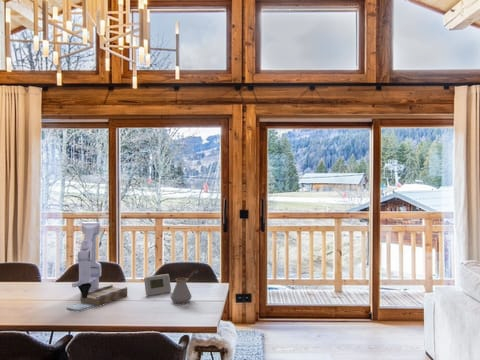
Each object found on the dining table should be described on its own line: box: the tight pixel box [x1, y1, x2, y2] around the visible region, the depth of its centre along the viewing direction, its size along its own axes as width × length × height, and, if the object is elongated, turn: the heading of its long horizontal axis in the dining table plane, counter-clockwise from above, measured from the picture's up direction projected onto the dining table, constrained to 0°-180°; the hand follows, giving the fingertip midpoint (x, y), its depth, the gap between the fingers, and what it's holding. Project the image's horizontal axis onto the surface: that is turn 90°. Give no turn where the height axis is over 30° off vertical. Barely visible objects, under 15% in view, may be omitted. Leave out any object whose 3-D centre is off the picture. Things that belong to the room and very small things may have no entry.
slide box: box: [80, 284, 128, 307], centre depth 222 cm, size 22×13×5 cm, turn 152°
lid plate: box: [66, 302, 95, 312], centre depth 207 cm, size 10×9×2 cm
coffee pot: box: [170, 269, 199, 305], centre depth 222 cm, size 21×12×15 cm, turn 153°
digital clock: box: [144, 273, 172, 297], centre depth 235 cm, size 16×9×11 cm, turn 114°
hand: (84, 297), depth 210 cm, fingers closed
